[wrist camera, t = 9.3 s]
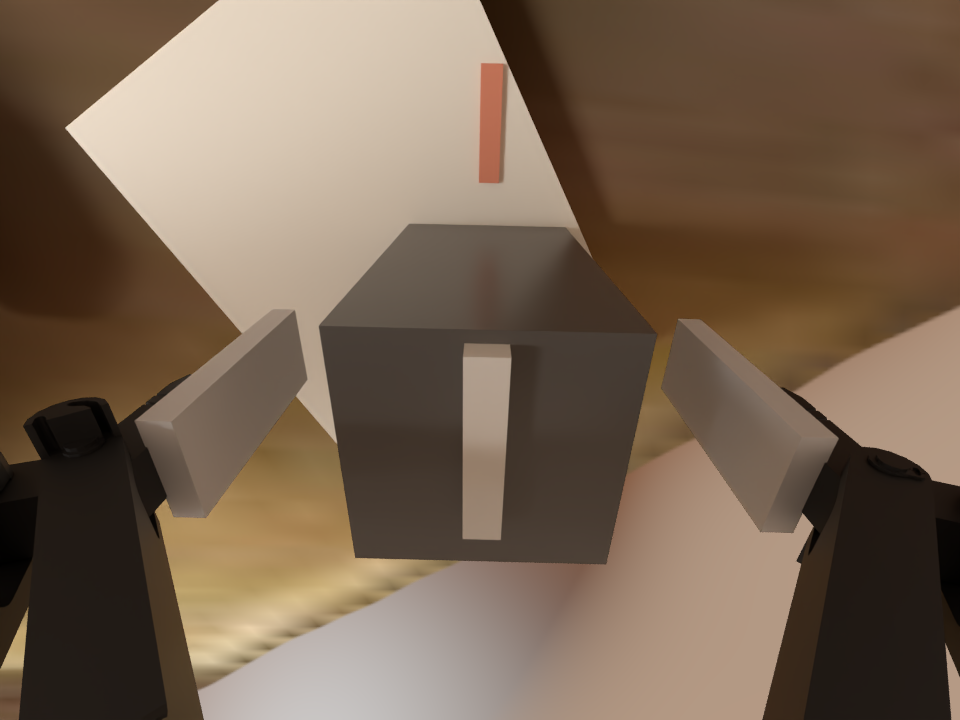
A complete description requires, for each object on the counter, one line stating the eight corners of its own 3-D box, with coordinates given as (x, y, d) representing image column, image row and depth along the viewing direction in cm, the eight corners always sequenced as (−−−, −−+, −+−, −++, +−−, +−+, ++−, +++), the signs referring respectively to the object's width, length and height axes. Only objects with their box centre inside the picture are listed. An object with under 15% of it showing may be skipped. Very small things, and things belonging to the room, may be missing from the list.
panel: (373, 454, 27) (339, 551, 20) (104, 128, 19) (-84, 125, 13) (624, 339, 23) (675, 415, 17) (419, -124, 15) (371, -305, 9)
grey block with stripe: (550, 365, 22) (612, 585, 11) (416, 362, 22) (349, 578, 11) (565, 227, 19) (668, 346, 8) (408, 223, 19) (307, 338, 8)
